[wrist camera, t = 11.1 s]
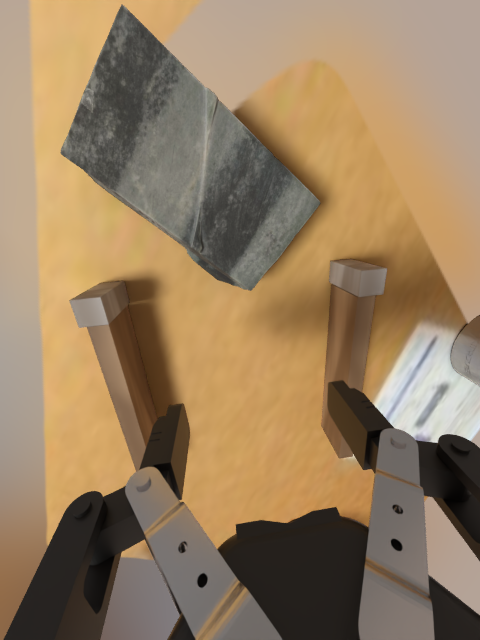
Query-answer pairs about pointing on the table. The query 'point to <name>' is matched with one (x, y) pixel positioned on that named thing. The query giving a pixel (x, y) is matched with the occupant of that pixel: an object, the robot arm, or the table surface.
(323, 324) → the table surface
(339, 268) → the pair of wooden rails
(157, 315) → the table surface
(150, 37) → the stone block
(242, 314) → the table surface
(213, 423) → the table surface
